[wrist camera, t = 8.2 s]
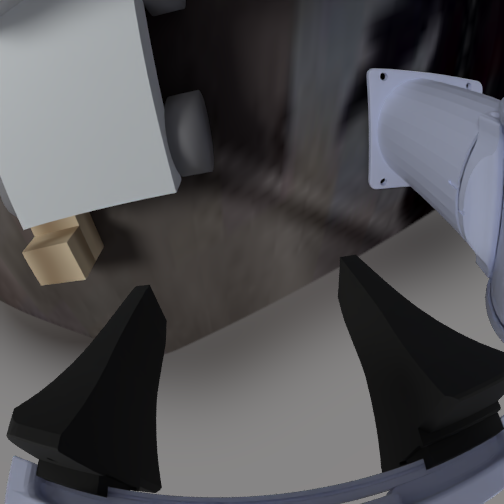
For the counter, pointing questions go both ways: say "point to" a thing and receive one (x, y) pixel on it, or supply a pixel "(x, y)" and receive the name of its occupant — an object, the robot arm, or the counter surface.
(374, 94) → the robot arm
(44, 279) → the block
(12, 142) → the trolley
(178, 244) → the counter surface
